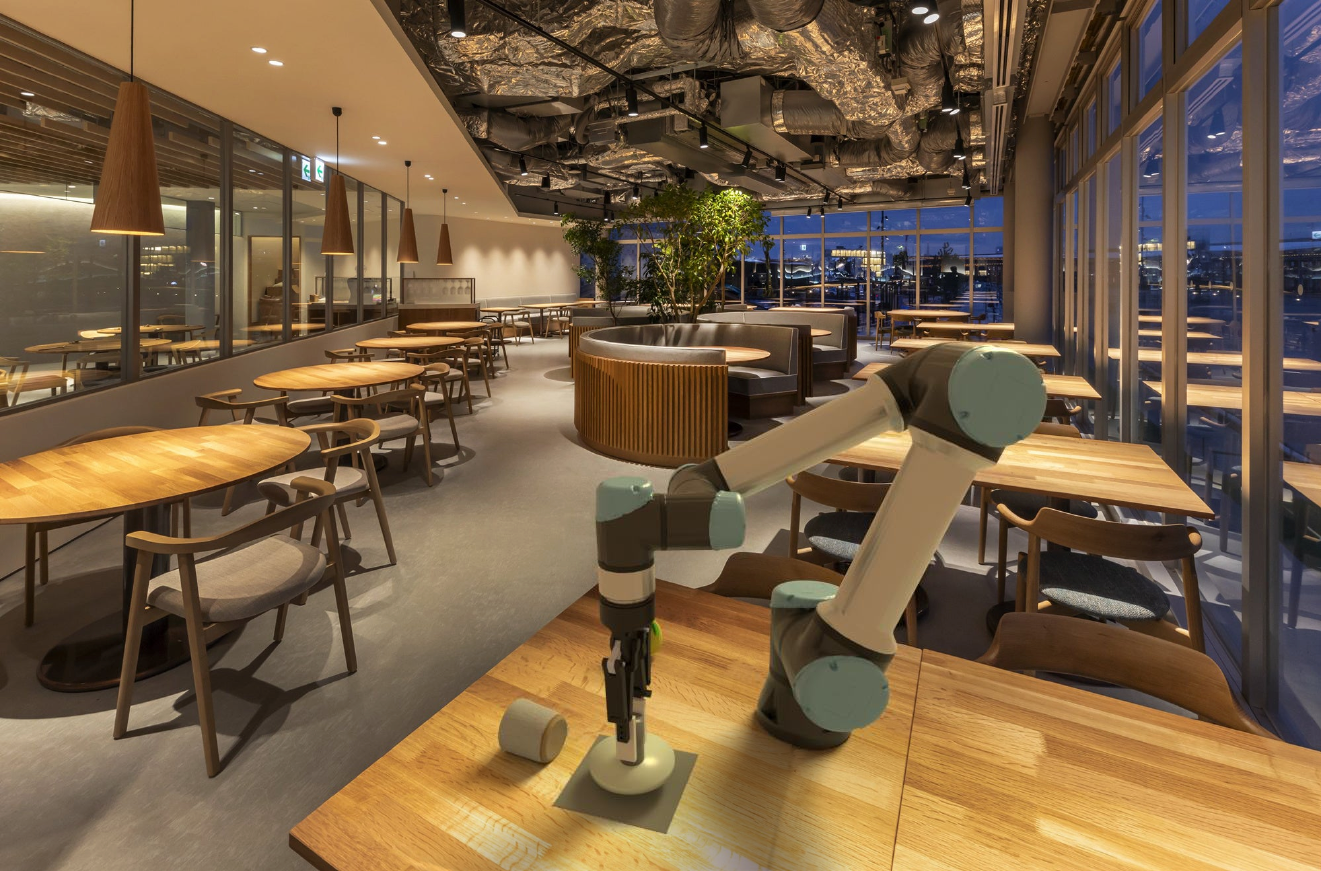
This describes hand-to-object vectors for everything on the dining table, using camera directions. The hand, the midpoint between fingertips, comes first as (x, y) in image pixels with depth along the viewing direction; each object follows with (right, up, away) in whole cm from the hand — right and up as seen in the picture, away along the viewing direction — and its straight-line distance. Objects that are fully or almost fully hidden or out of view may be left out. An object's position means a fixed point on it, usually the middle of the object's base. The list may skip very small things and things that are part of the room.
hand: (631, 749), depth 94 cm
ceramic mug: (-15, -4, +9) cm, 17 cm away
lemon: (+2, +1, +35) cm, 35 cm away
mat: (0, -5, +1) cm, 5 cm away
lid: (0, -2, 0) cm, 2 cm away
